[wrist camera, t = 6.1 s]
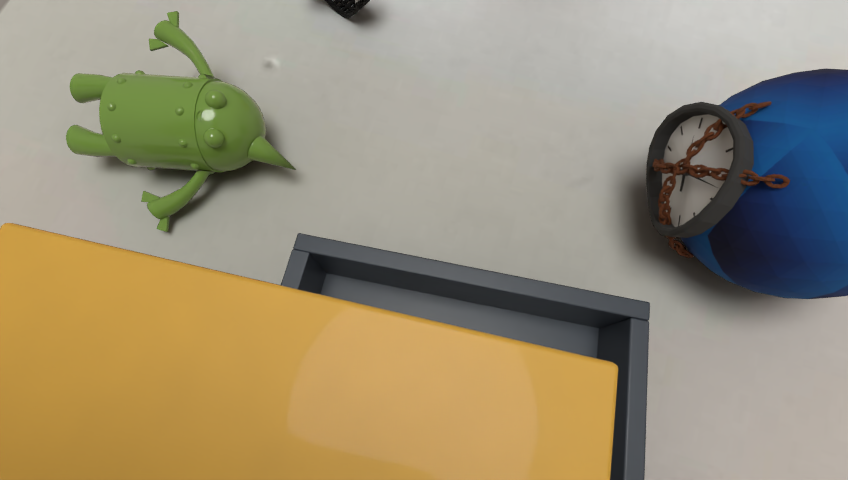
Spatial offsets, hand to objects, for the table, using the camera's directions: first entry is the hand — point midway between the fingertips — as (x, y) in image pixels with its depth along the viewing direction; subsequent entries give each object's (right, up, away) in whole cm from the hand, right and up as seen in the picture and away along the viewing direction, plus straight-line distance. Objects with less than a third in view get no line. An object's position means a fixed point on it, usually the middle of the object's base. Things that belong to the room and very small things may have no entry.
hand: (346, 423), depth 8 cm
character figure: (-11, +9, +18) cm, 23 cm away
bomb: (+17, +4, +16) cm, 24 cm away
